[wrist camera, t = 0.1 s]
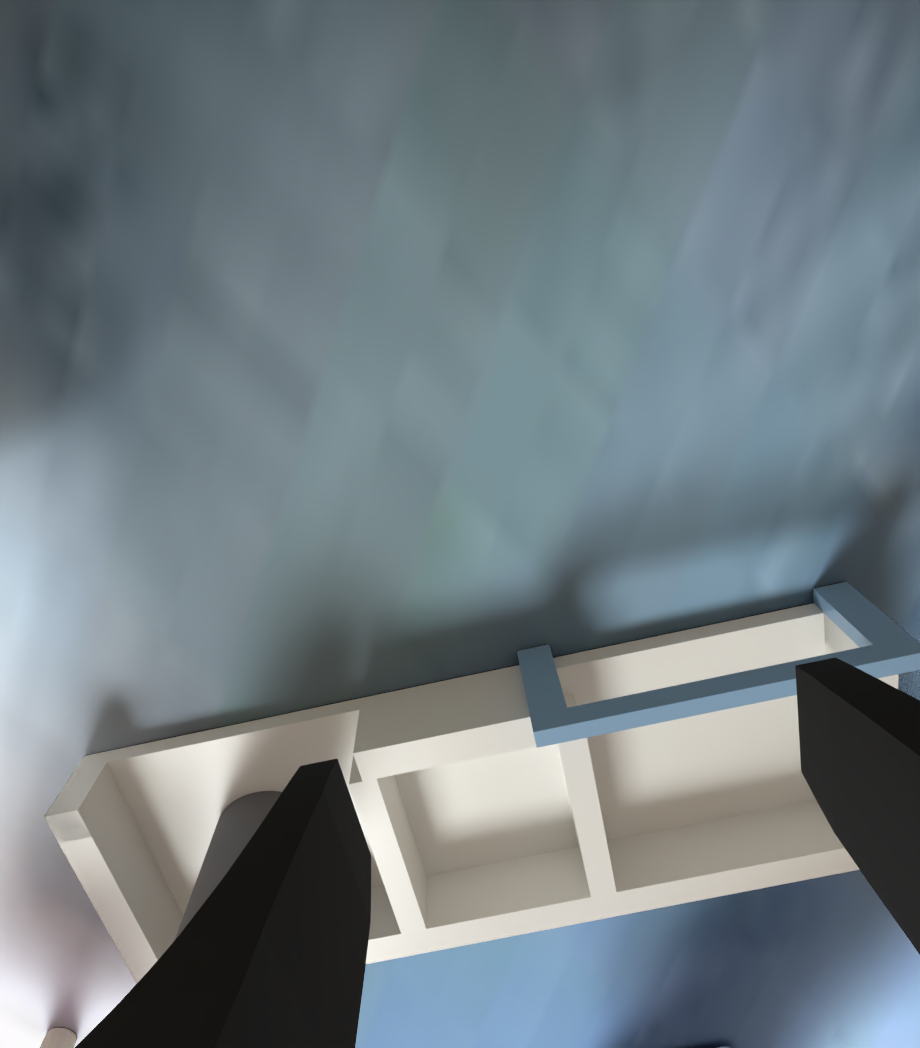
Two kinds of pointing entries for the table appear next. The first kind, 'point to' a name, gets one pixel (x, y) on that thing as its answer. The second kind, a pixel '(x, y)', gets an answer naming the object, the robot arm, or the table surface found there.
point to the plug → (228, 845)
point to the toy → (59, 1038)
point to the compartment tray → (509, 786)
